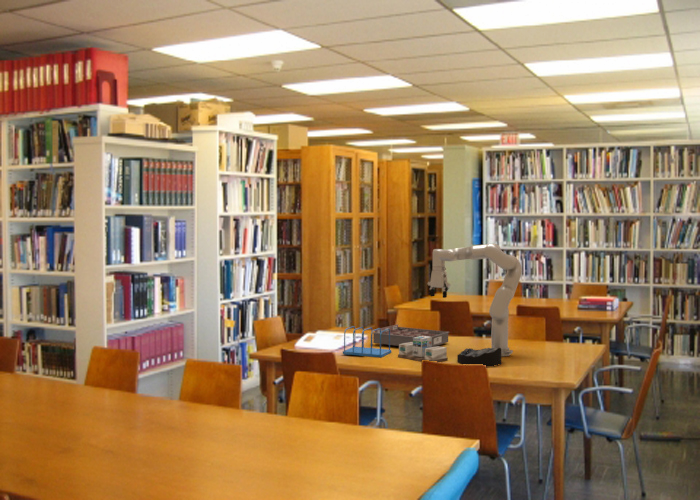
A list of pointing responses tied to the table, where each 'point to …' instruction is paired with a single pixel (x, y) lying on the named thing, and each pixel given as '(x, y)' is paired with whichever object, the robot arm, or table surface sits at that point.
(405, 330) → the organizer tray
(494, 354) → the topographical model
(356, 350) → the file sorter
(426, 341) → the light bulb box
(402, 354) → the rail board
